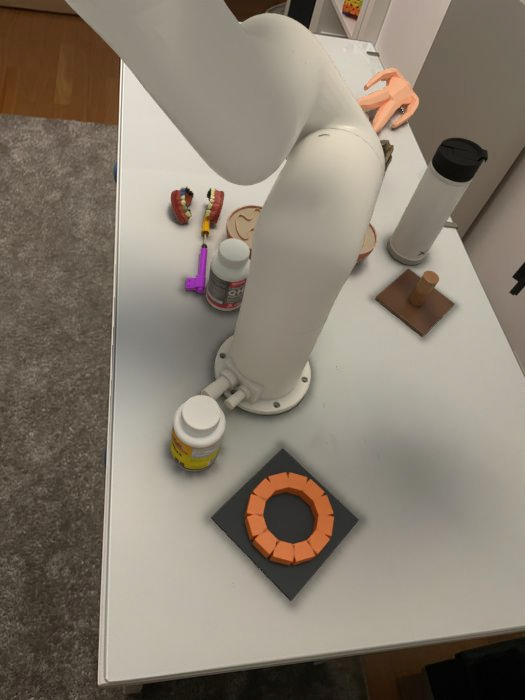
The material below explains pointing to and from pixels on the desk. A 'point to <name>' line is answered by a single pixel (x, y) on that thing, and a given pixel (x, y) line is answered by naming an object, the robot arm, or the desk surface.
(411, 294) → the ring post
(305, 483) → the ring
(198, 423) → the supplement bottle
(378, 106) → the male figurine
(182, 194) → the dental model
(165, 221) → the desk surface
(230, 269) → the pill bottle
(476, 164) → the travel mug
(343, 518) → the mat
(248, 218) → the mitochondrion model
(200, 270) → the purple and orange tool
